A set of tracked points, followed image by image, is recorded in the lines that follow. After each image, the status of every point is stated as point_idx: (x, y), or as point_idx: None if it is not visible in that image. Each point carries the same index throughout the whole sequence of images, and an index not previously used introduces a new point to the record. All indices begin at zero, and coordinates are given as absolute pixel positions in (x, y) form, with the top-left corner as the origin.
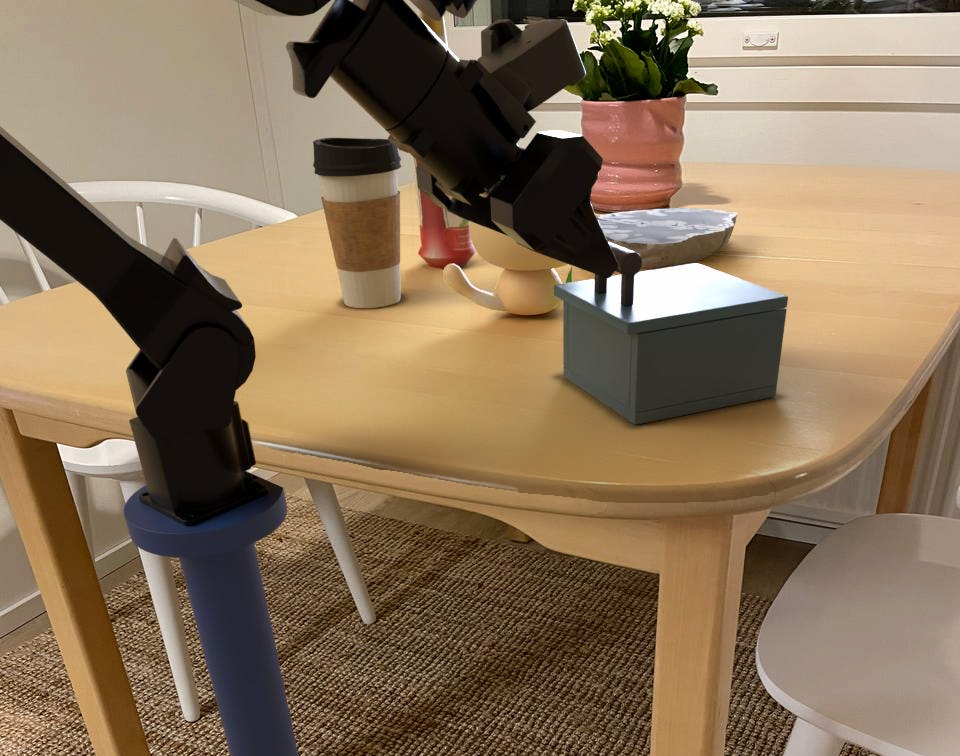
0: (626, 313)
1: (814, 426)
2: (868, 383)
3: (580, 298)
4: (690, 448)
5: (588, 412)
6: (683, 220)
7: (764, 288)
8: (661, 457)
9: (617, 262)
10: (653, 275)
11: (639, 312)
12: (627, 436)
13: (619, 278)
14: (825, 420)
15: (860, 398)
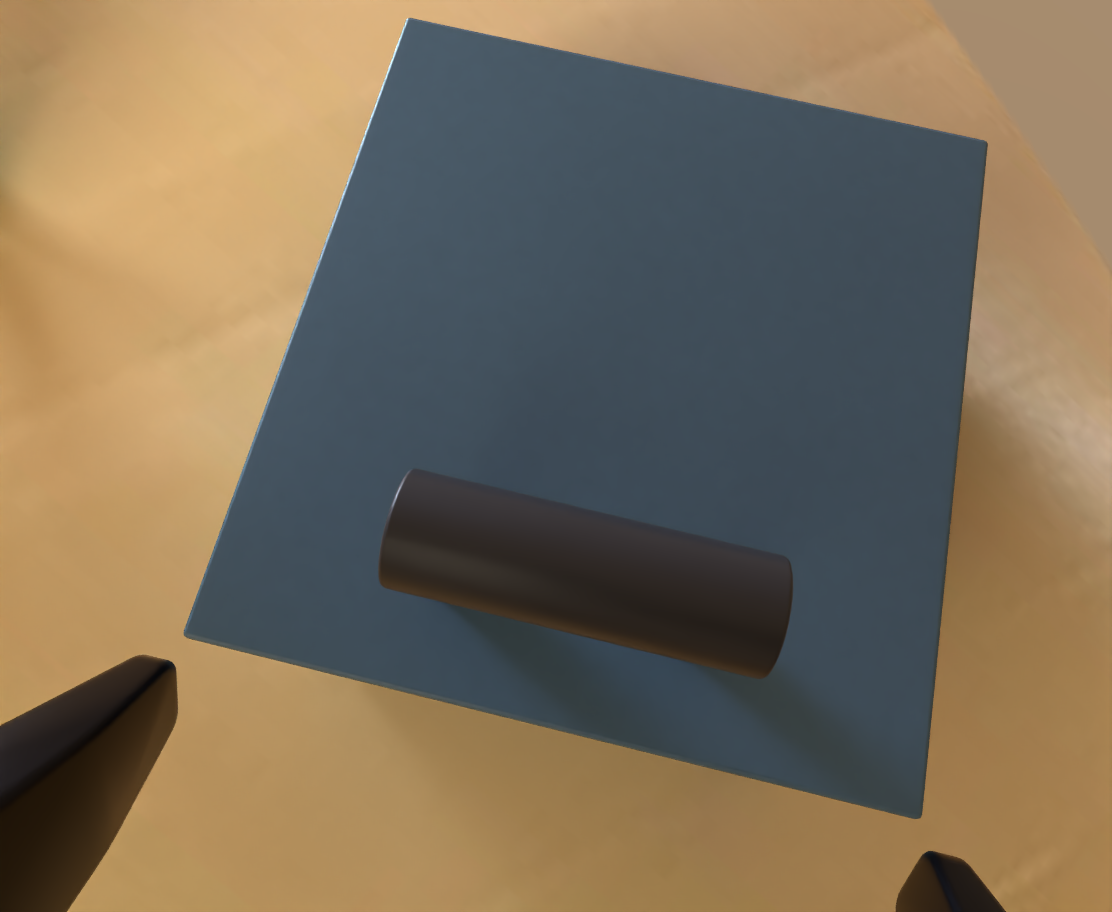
0: (794, 717)
1: (1061, 392)
2: (912, 95)
3: (461, 703)
4: (1012, 742)
5: (613, 780)
6: None
7: (859, 120)
8: (1021, 854)
9: (974, 873)
10: (419, 243)
11: (819, 668)
12: (841, 821)
13: (342, 362)
14: (1044, 344)
15: None
